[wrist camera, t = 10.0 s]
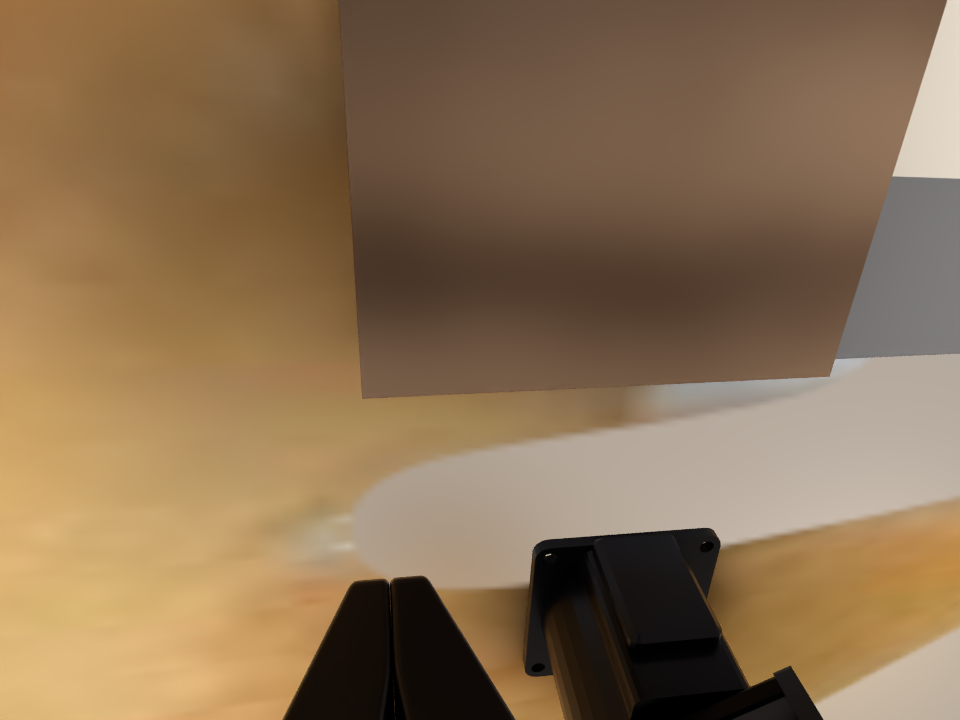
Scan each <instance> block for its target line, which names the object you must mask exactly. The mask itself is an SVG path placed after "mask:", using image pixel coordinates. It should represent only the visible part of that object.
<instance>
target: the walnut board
mask: <svg viewBox="0 0 960 720" xmlns="http://www.w3.org/2000/svg"><path fill="white" fill-rule="evenodd" d="M946 3H947V0H339V15H340V32H341V49H342V66H343V83H344V99H345V116H346V133H347V150H348V167H349V184H350V200H351V217H352V234H353V251H354V268H355V284H356V301H357V318H358V335H359V352H360V368H361V385H362V399H366V398H387V397H408V396H429V395H450V394H471V393H492V392H513V391H534V390H555V389H576V388H597V387H618V386H639V385H660V384H681V383H703V382H724V381H745V380H766V379H787V378H808V377H829V376H830V373H831V370H832V367H833V364H834V360H835V357H836V354H837V351H838V348H839V344H840V341H841V338H842V335H843V332H844V328H845V325H846V322H847V319H848V316H849V313H850V309H851V306H852V303H853V300H854V297H855V293H856V290H857V287H858V284H859V281H860V277H861V274H862V271H863V268H864V265H865V262H866V258H867V255H868V252H869V249H870V246H871V242H872V239H873V236H874V233H875V230H876V226H877V223H878V220H879V217H880V214H881V210H882V207H883V204H884V201H885V198H886V195H887V191H888V188H889V185H890V182H891V179H892V175H893V172H894V169H895V166H896V163H897V159H898V156H899V153H900V150H901V147H902V144H903V140H904V137H905V134H906V131H907V128H908V124H909V121H910V118H911V115H912V112H913V108H914V105H915V102H916V99H917V96H918V93H919V89H920V86H921V83H922V80H923V77H924V73H925V70H926V67H927V64H928V61H929V57H930V54H931V51H932V48H933V45H934V41H935V38H936V35H937V32H938V29H939V26H940V22H941V19H942V16H943V13H944V10H945V6H946Z"/></svg>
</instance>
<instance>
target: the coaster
mask: <svg viewBox="0 0 960 720" xmlns="http://www.w3.org/2000/svg"><path fill="white" fill-rule="evenodd" d="M892 176H897V177H926V178H954V179H960V0H947V3H946V6H945V10H944V13H943V16H942V19H941V22H940V26H939V29H938V32H937V35H936V38H935V41H934V45H933V48H932V51H931V54H930V57H929V61H928V64H927V67H926V70H925V73H924V77H923V80H922V83H921V86H920V89H919V93H918V96H917V99H916V102H915V105H914V108H913V112H912V115H911V118H910V121H909V124H908V128H907V131H906V134H905V137H904V140H903V144H902V147H901V150H900V153H899V156H898V159H897V163H896V166H895V169H894V172H893V175H892Z"/></svg>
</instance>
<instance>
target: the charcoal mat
mask: <svg viewBox="0 0 960 720" xmlns="http://www.w3.org/2000/svg"><path fill="white" fill-rule="evenodd" d="M959 353H960V179H954V178H926V177H897V176H892V179H891V182H890V185H889V188H888V191H887V195H886V198H885V201H884V204H883V207H882V210H881V214H880V217H879V220H878V223H877V226H876V230H875V233H874V236H873V239H872V242H871V246H870V249H869V252H868V255H867V258H866V262H865V265H864V268H863V271H862V274H861V277H860V281H859V284H858V287H857V290H856V293H855V297H854V300H853V303H852V306H851V309H850V313H849V316H848V319H847V322H846V325H845V328H844V332H843V335H842V338H841V341H840V344H839V348H838V351H837V354H836V357H835V359H846V358H868V357H891V356H913V355H936V354H959Z"/></svg>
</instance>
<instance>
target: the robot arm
mask: <svg viewBox="0 0 960 720" xmlns="http://www.w3.org/2000/svg"><path fill="white" fill-rule="evenodd" d="M704 542H705V543H704ZM719 549H720V540H719V538H718V537H717V535H716V533H715V532H714V530H712V529H710V528H697V529H684V530H670V531H657V532H644V533H630V534H617V535H604V536H590V537H578V538H563V539H550V540H544V541H542V542H540V543H538V544H537V545H536V546H535V547H534V549H533V553H532V564H531V575H530V586H529V597H528V608H527V620H526V631H525V642H524V653H523V663H524V667H525V672H526V673H527V674H528V675H530V676H535V677H538V676H548V675H554V679H555V683H556V687H557V691H558V695H559V699H560V703H561V707H562V711H563V715H564V719H565V720H823V718H822V717H821V715H820V713H819V712H818V710H817V708H816V707H815V705H814V703H813V702H812V700H811V698H810V697H809V695H808V694H807V692H806V690H805V689H804V687H803V685H802V684H801V682H800V680H799V679H798V677H797V676H796V674H795V672H794V671H793V669H792V667H791V666H788V667H786V668H784V669H782V670H779V671H777V672H775V673H773V674H774V676H775V677H772V678H770V679H768V680H765V681H763V682H761V683H759V684H756V685H754V686H752V687H750V686H749V684H748V682H747V680H746V678H745V676H744V674H743V672H742V670H741V668H740V666H739V664H738V662H737V660H736V658H735V656H734V655H733V653H732V651H731V649H730V647H729V645H728V643H727V641H726V639H725V637H724V635H723V633H722V629H721V626H720V624H719V622H718V621H717V619H716V617H715V615H714V613H713V611H712V609H711V607H710V605H709V603H708V601H707V595H708V591H709V588H710V584H711V580H712V576H713V572H714V569H715V565H716V561H717V557H718V553H719ZM546 554H551V555H549V556H545V555H546ZM390 604H391V610H390ZM391 631H392V632H391ZM393 680H394V681H393ZM394 702H395V706H394ZM283 720H515V718H514V717H513V715H512V713H511V712H510V710H509V708H508V707H507V705H506V704H505V702H504V700H503V699H502V697H501V695H500V694H499V692H498V691H497V689H496V687H495V686H494V684H493V683H492V681H491V679H490V678H489V676H488V674H487V673H486V671H485V670H484V668H483V666H482V665H481V663H480V662H479V660H478V658H477V657H476V655H475V653H474V652H473V650H472V649H471V647H470V645H469V644H468V642H467V641H466V639H465V637H464V636H463V634H462V632H461V631H460V629H459V628H458V626H457V624H456V623H455V621H454V619H453V618H452V616H451V615H450V613H449V611H448V610H447V608H446V607H445V605H444V603H443V602H442V600H441V598H440V597H439V595H438V594H437V592H436V590H435V589H434V587H433V586H432V584H431V582H430V581H429V580H428V579H427V578H426V577H424V576H411V577H398V578H394V579H393V580H391V582H390V588H389V583H388V581H387V580H385V579H373V580H361V581H355V582H353V583H352V584H351V585H350V587H349V588H348V590H347V592H346V594H345V596H344V598H343V600H342V602H341V604H340V606H339V608H338V610H337V612H336V614H335V616H334V618H333V620H332V622H331V624H330V626H329V628H328V630H327V632H326V634H325V636H324V638H323V640H322V642H321V644H320V646H319V648H318V650H317V652H316V654H315V656H314V658H313V660H312V662H311V664H310V666H309V668H308V670H307V672H306V674H305V676H304V678H303V680H302V682H301V684H300V686H299V688H298V690H297V692H296V694H295V696H294V698H293V700H292V702H291V704H290V706H289V708H288V710H287V712H286V714H285V716H284V718H283Z"/></svg>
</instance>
